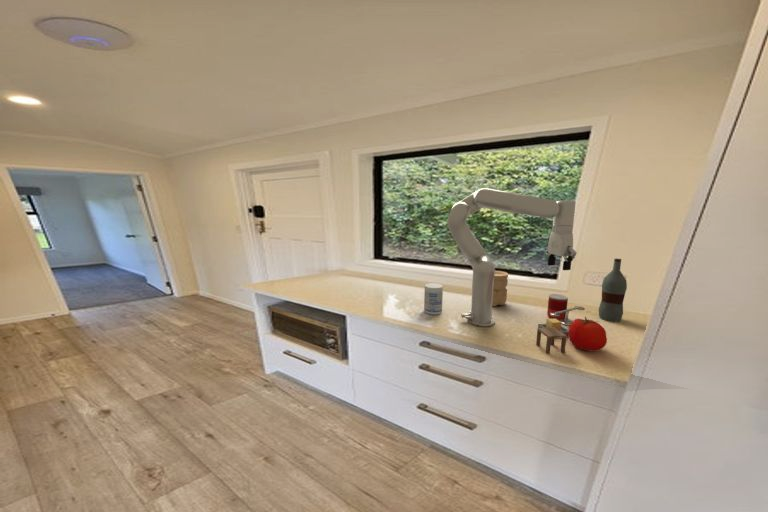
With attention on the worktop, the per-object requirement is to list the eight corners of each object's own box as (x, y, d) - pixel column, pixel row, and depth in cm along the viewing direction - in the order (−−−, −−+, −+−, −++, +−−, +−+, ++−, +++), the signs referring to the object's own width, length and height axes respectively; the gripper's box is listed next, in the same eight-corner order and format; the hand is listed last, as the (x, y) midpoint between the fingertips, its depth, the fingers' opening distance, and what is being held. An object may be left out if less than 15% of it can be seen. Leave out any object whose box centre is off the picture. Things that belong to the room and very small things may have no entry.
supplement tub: (430, 316, 144) (430, 289, 141) (420, 310, 152) (421, 284, 150) (445, 313, 147) (446, 286, 145) (435, 307, 156) (436, 282, 153)
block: (551, 332, 122) (552, 322, 121) (545, 328, 126) (546, 318, 125) (560, 331, 122) (561, 322, 121) (554, 327, 126) (555, 318, 125)
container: (484, 306, 156) (485, 275, 153) (481, 299, 168) (483, 270, 165) (508, 308, 153) (510, 276, 150) (503, 300, 165) (505, 270, 162)
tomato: (584, 338, 118) (587, 312, 116) (615, 355, 105) (619, 326, 103) (558, 341, 116) (561, 315, 114) (586, 358, 103) (590, 329, 101)
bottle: (612, 315, 141) (620, 257, 135) (627, 322, 132) (636, 260, 126) (593, 315, 141) (600, 257, 136) (606, 322, 132) (615, 261, 127)
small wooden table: (547, 353, 107) (549, 336, 105) (536, 344, 113) (537, 328, 112) (564, 352, 107) (566, 335, 106) (552, 343, 114) (554, 327, 113)
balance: (552, 326, 129) (554, 309, 128) (547, 323, 133) (548, 306, 131) (584, 325, 130) (586, 308, 129) (578, 321, 134) (580, 304, 133)
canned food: (568, 321, 135) (570, 299, 133) (550, 319, 137) (552, 298, 135) (561, 314, 142) (564, 294, 140) (544, 313, 144) (546, 293, 142)
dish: (551, 337, 119) (551, 333, 119) (537, 328, 128) (538, 324, 128) (570, 336, 120) (571, 331, 120) (556, 327, 129) (556, 323, 128)
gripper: (541, 227, 129) (538, 263, 132) (568, 231, 112) (564, 272, 115) (556, 227, 129) (553, 263, 133) (586, 230, 112) (581, 271, 116)
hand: (558, 267), depth 124 cm, fingers open, 9 cm apart
